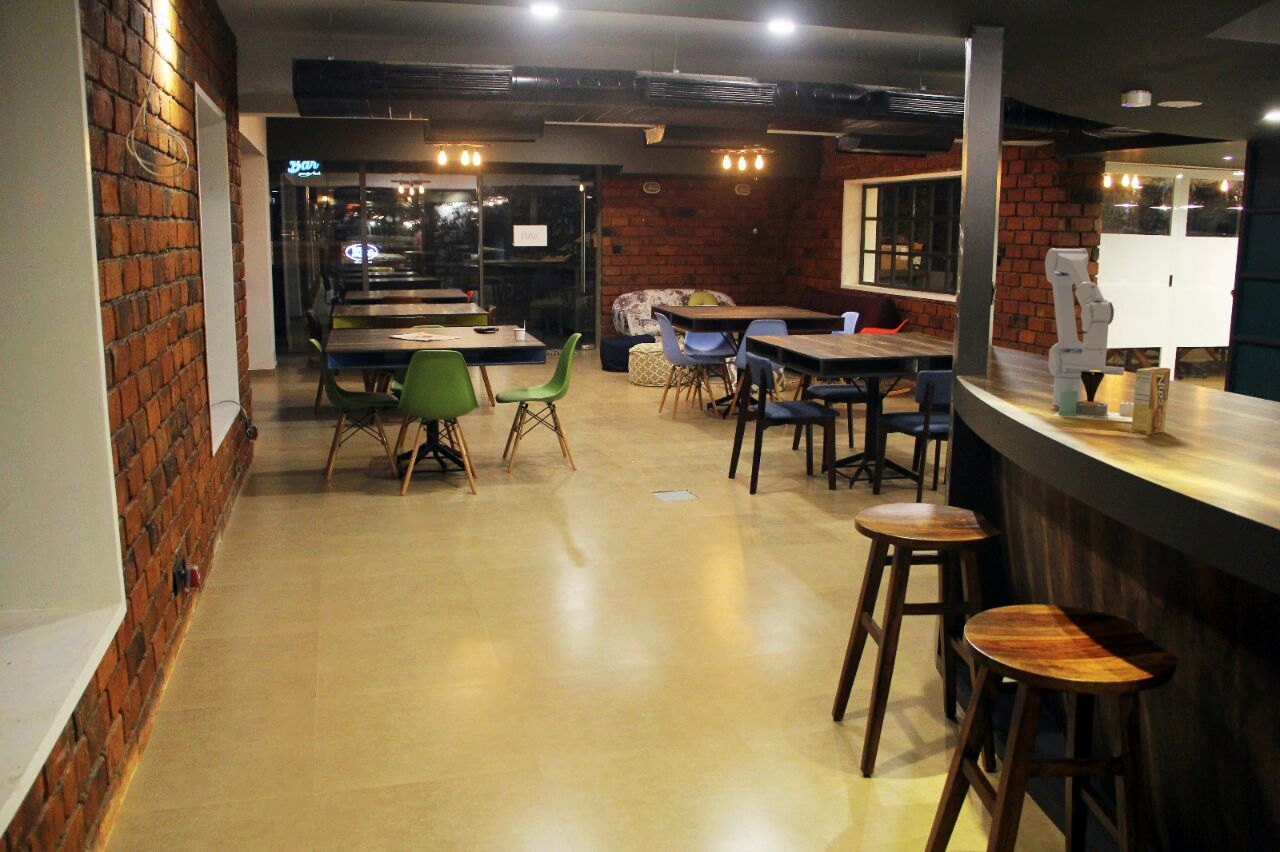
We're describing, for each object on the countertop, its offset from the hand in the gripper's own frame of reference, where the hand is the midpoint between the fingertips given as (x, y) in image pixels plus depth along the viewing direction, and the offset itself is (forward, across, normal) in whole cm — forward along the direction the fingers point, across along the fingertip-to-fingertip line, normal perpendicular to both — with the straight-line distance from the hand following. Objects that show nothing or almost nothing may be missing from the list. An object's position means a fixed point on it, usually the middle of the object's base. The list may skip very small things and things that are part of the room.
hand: (1090, 401), depth 279 cm
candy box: (+4, +16, -18) cm, 25 cm away
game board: (+4, +4, -2) cm, 6 cm away
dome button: (+2, 0, 0) cm, 2 cm away
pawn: (+3, -4, -6) cm, 8 cm away
